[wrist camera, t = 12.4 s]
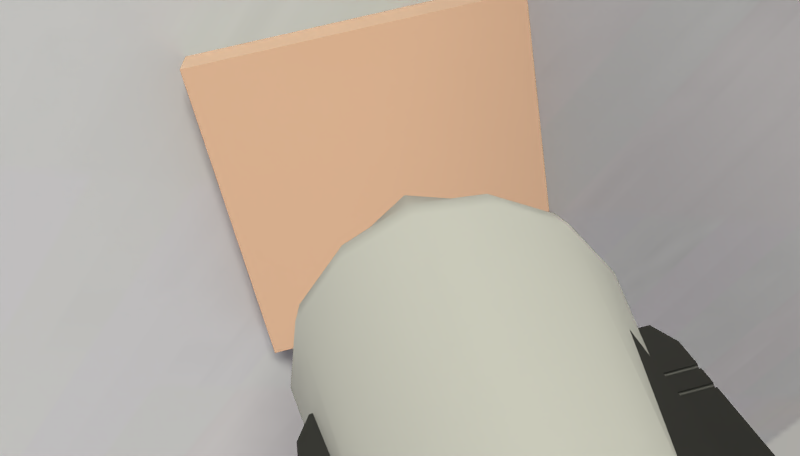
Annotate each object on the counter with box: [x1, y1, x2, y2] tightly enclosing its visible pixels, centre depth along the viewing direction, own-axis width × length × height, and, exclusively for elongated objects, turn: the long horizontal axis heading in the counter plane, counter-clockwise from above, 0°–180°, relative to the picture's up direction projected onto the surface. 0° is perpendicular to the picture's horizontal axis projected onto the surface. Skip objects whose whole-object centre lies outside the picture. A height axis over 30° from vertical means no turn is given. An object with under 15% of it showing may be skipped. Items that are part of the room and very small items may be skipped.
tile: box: [180, 0, 549, 353], centre depth 28 cm, size 2×12×12 cm
